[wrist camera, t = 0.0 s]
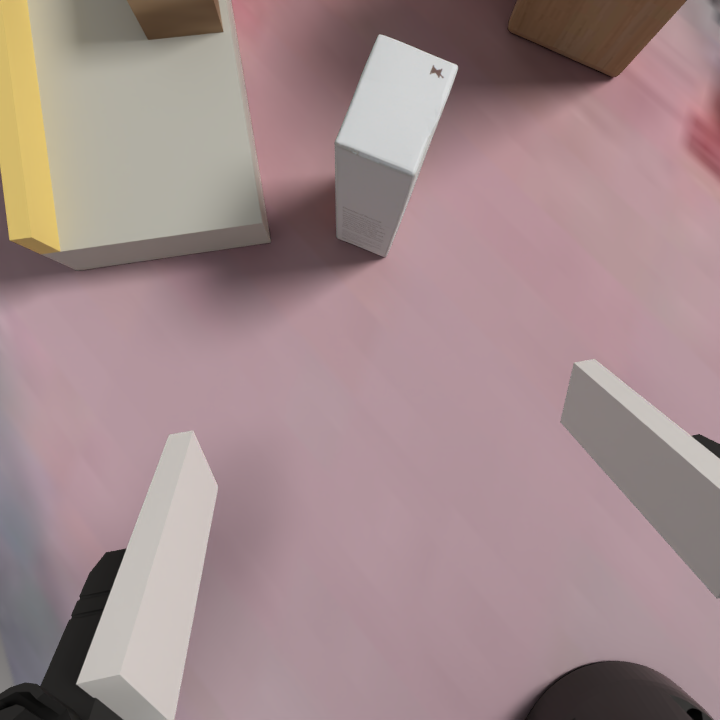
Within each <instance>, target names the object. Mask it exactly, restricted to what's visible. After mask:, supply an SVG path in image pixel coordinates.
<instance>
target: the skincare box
mask: <svg viewBox="0 0 720 720" xmlns="http://www.w3.org/2000/svg"><path fill="white" fill-rule="evenodd" d="M457 71H458V66H457V65H456V64H454V63H451V62H449V61H446V60H444V59H441V58H439V57H436V56H434V55H431V54H429V53H426V52H424V51H422V50H419V49H417V48H415V47H412V46H410V45H407V44H405V43H403V42H400V41H398V40H395V39H393V38H390V37H387V36H384V35H381V34H379V35H378V36H377V39H376V41H375V44H374V46H373V48H372V51H371V53H370V56H369V58H368V60H367V62H366V65H365V67H364V70H363V72H362V75H361V77H360V80H359V83H358V85H357V88H356V91H355V93H354V96H353V99H352V101H351V104H350V106H349V108H348V111H347V113H346V116H345V118H344V121H343V123H342V126H341V128H340V131H339V133H338V136H337V138H336V140H335V193H336V237H337V238H338V239H340V240H343V241H345V242H348V243H351V244H353V245H356V246H358V247H361V248H363V249H365V250H368V251H370V252H373V253H375V254H378V255H380V256H383V257H386V256H387V254H388V252H389V250H390V247H391V245H392V243H393V240H394V238H395V235H396V233H397V230H398V228H399V225H400V223H401V220H402V218H403V215H404V212H405V210H406V207H407V204H408V202H409V199H410V196H411V194H412V191H413V188H414V186H415V183H416V180H417V178H418V175H419V172H420V170H421V167H422V164H423V162H424V159H425V156H426V153H427V151H428V148H429V145H430V143H431V140H432V138H433V135H434V132H435V130H436V127H437V125H438V122H439V119H440V117H441V114H442V112H443V109H444V106H445V104H446V101H447V99H448V96H449V94H450V91H451V88H452V85H453V82H454V80H455V77H456V74H457Z"/></svg>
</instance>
